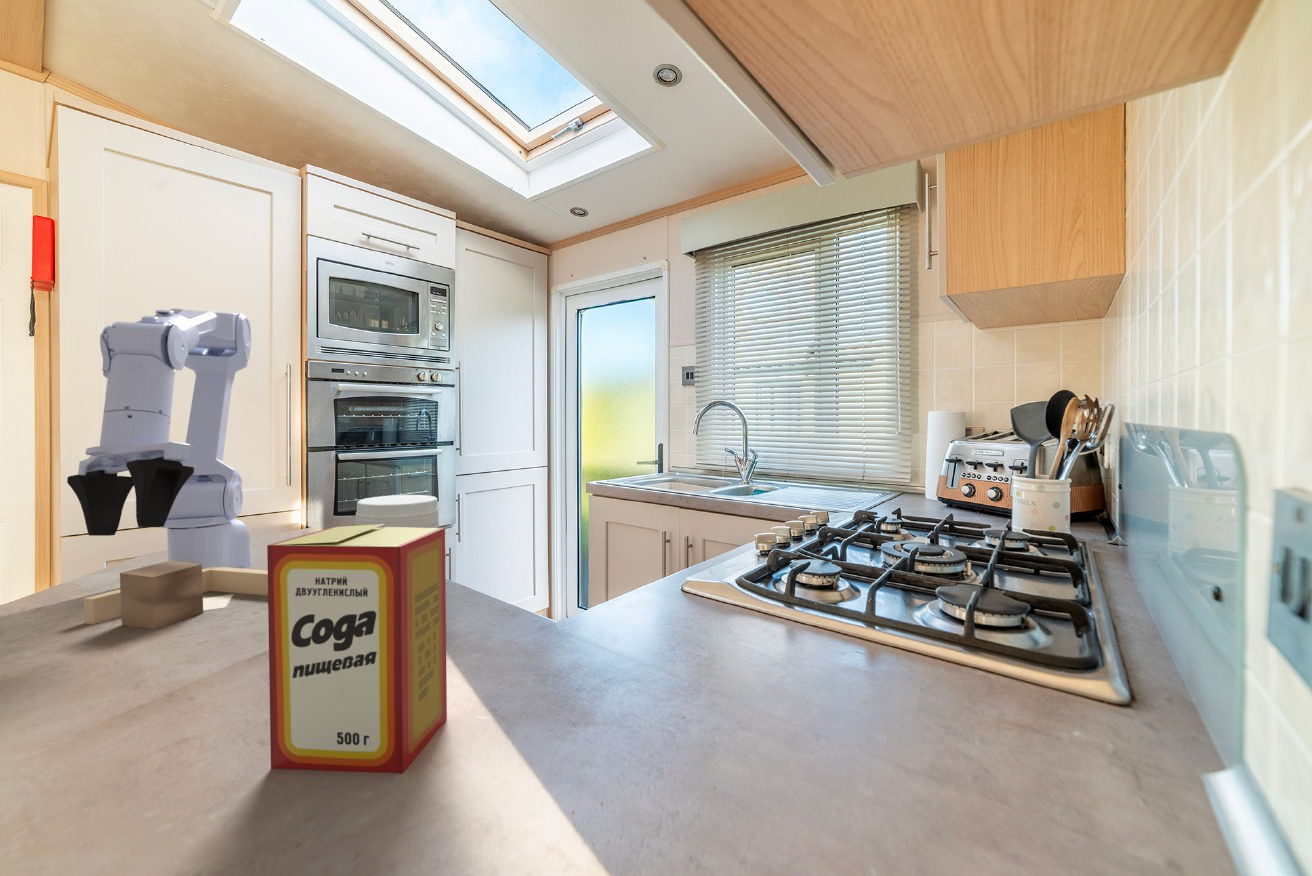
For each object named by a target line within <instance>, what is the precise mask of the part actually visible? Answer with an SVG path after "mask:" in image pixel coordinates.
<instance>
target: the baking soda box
mask: <svg viewBox="0 0 1312 876" xmlns="http://www.w3.org/2000/svg"><path fill="white" fill-rule="evenodd" d="M381 525H384V524H376V525H360V526H355V525H347V526H332V527H328V528H323V529H321V530H317V531H313V532H310V533H307V534H303V535H299V536H296V537H293V538H288V539H285V540H281V541H278V542H274V543H270V544H267V545H266V546H267V547H266V549H267V550H266V551H267V552H266V553H267V557H266V558H267V570H268V596H267V601H268V602H267V606H268V607H267V611H268V612H267V615H268V621H267V622H268V667H269V668H268V669H269V671H268V673H269V675H268V676H269V725H270V727H269V731H270V733H269V734H270V736H269V739H270V741H269V742H270V744H269V745H270V769H271V770H293V771H294V770H296V771H297V770H299V771H325V772H327V771H328V772H351V773H352V772H353V773H354V772H355V773H359V772H360V773H382V774H386V773H387V774H404V773H405V772H406V770H408V768H409V767H410V766H411V764H412V763H413V762H414V761H415V759H416V758H417V757H418V755H419V754H420V753H421V752H422V751H423V750H424V748H425V747H426V746H427V744H428V743H430V741H431V740H432V739H433V737H434V736H435V734H437V732H438V731H439V730H440V729H441V728H442V726H443V725H444V724H445V723H446V721H447V720H448V711H447V710H448V708H447V707H448V705H447V704H448V703H447V702H448V700H447V699H448V698H447V695H448V694H447V689H448V688H447V686H448V685H447V621H446V620H447V617H446V616H447V613H446V612H447V607H446V606H447V603H446V599H447V597H446V596H447V595H446V593H447V592H446V591H447V590H446V588H447V587H446V584H447V583H446V528H445V527H439V528H413V527H384V528H376V527H378V526H381Z"/></svg>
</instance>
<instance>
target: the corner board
mask: <svg viewBox="0 0 1312 876" xmlns="http://www.w3.org/2000/svg"><path fill="white" fill-rule="evenodd" d="M202 587H203V594H204V593H207V592H210V591H211V592H222V593H230V594H225V595H216V596H211V597H203V612H206V611H214V610H221V609H226V607H228V604H229V602H230V601H231V599H232V598H233V596H234V593H235V594H243V595H255V596H267V597H268V569H266V570H265V569H255V568H254V569H253V568H243V567H240V568H228V567H215V566H213V567H209V568H205V569H202ZM231 593H233V594H231ZM117 618H122V617H121V592H120V589H116V590H112V591H108V592H104V593H100V594H96V595H92V596H87V597H83V620H84V622H83V623H84V624H88V625H95V624H99V623H102V622H106V621H109V620H114V619H117Z"/></svg>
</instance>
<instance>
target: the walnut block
mask: <svg viewBox="0 0 1312 876" xmlns="http://www.w3.org/2000/svg"><path fill="white" fill-rule="evenodd" d="M119 587H120V592H121V617H120V618H121V625H122V626H127V627H128V626H129V627H134V628H136V627H137V628H144V629H152V630H155V629H158V628H161V627H164V626H169V625H172V624H174V623H178V622H180V621H185V620H186V619H190V618H192V617H195V616H199V615H201V614H203V613H204V611H203V598H204V596H203V594H204V593H203V587H202V564H196V563H187V562H179V561H168V560H167V561H162V562H158V563H155V564H151V565H150V564H149V565H147V566H142V567H139V568H135V569H130V570H127V571H122V572H120V573H119Z"/></svg>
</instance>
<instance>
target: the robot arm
mask: <svg viewBox="0 0 1312 876" xmlns="http://www.w3.org/2000/svg"><path fill="white" fill-rule="evenodd" d="M99 345H100V352H101V356H102V370H101V371H102V374H103V376H104V377H105V378H107V381H106V389H105V390H106V391H105V396H104V398H105V399H104V405H103V406H104V407H103V413H102V414H103V416H102V424H101V430H100V431H101V432H100V433H101V434H100V439H99V440H100V441H99V446H91V447H87V448H85V455H86V456H88V458H87V459H84V460H80V461H79V463H78V472H77V474H74V475H70V476H67V480H66V483H67V484H68V486H69V487H70V488H71V489H72V491H73V493H74V494H75V496H76V497H77V499H78V501H79V504H80V506H81V509H82V513H83V517H84V521H85V525H86V530H87V533H88V536H90V537H92V536H93V537H95V536H96V537H97V536H100V537H101V536H103V537H106V536H107V537H109V536H111V537H112V536H115V535H116V533H117V531H118V529H119V526H120V522H121V518H122V513H123V509H124V505H125V503H126V500H127V499H128V496H129V495H130V492H131V490H132V489H133V487H134V493H135V494H134V495H135V515H136V516H135V519H136V524H137V528H162V529H167V532H166V533H167V561H179V562H187V563H196V564H202V569H205V568H209V567H213V566H215V567H228V568H245V569H251V536H250V535H251V534H250V531H249V529H248V527H247V525H246V523H244V522H243V521H242V520H239V519H236V518H237V517H238V516H239V515H240V514H241V511H242V508H243V484H242V483H243V479H242V477H241V475H240V473H239V472H238V470H237V469H235V468H234V467H232V466H230V465H228V464H226V463H225V462H223V459H224V458H223V457H224V453H225V452H224V451H225V443H226V435H227V427H228V420H229V412H230V405H231V396H232V388H233V384H234V381H235V377H236V373H238V371H241V370H244V369H245V368H247V367H248V362H249V361H250V356H251V347H252V331H251V324H250V321H249V318H248V317H247V316H246V315H245V314H244V313H242V312H238V313H233V312H232V313H231V312H219V311H207V310H196V309H195V310H193V309H181V308H179V307H175V308H170V309H156V310H155V315H151V316H150V315H145V316H142V317H141V320H138V321H136V322H130V321H115V322H113V323H112V325H110V324H109V325H106V326H105V327H103V330H102V332H101V333H100V336H99ZM184 367H185V368H188V369H189V370H191V371H193V372H194V374H195V380H194V386H193V392H192V399H191V405H190V412H189V418H188V424H187V430H186V438H185V443H184V442H183V443H182V442H177V441H170V440H169V439H170V428H171V418H172V406H173V399H174V398H173V397H174V396H173V395H174V386H175V377H176V376H175V374H176V373H175V371H174V370H176V371H182V370H183V368H184ZM127 471H128V472H129V475H130V476H127V475H118V473H122V472H127Z"/></svg>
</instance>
